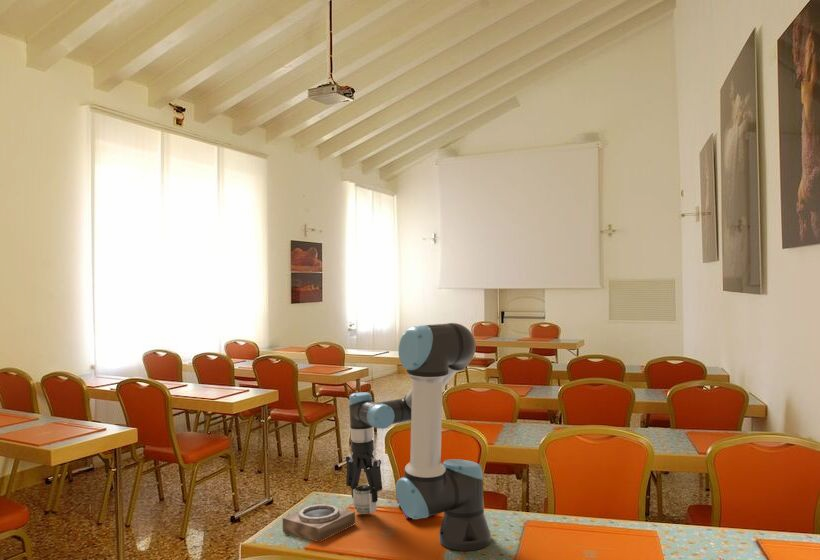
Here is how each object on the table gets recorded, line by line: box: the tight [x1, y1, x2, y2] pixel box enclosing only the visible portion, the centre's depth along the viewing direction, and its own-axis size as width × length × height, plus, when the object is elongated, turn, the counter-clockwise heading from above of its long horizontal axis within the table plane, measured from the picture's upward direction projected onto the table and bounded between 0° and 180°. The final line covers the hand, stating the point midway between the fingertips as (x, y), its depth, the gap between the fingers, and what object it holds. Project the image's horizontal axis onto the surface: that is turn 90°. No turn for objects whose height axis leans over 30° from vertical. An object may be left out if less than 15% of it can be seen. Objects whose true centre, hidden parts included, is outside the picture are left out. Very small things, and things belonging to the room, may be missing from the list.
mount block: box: [282, 502, 356, 542], centre depth 199 cm, size 16×16×5 cm
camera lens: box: [355, 484, 371, 515], centre depth 209 cm, size 6×6×8 cm
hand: (365, 509), depth 209 cm, fingers closed on camera lens, 6 cm apart
